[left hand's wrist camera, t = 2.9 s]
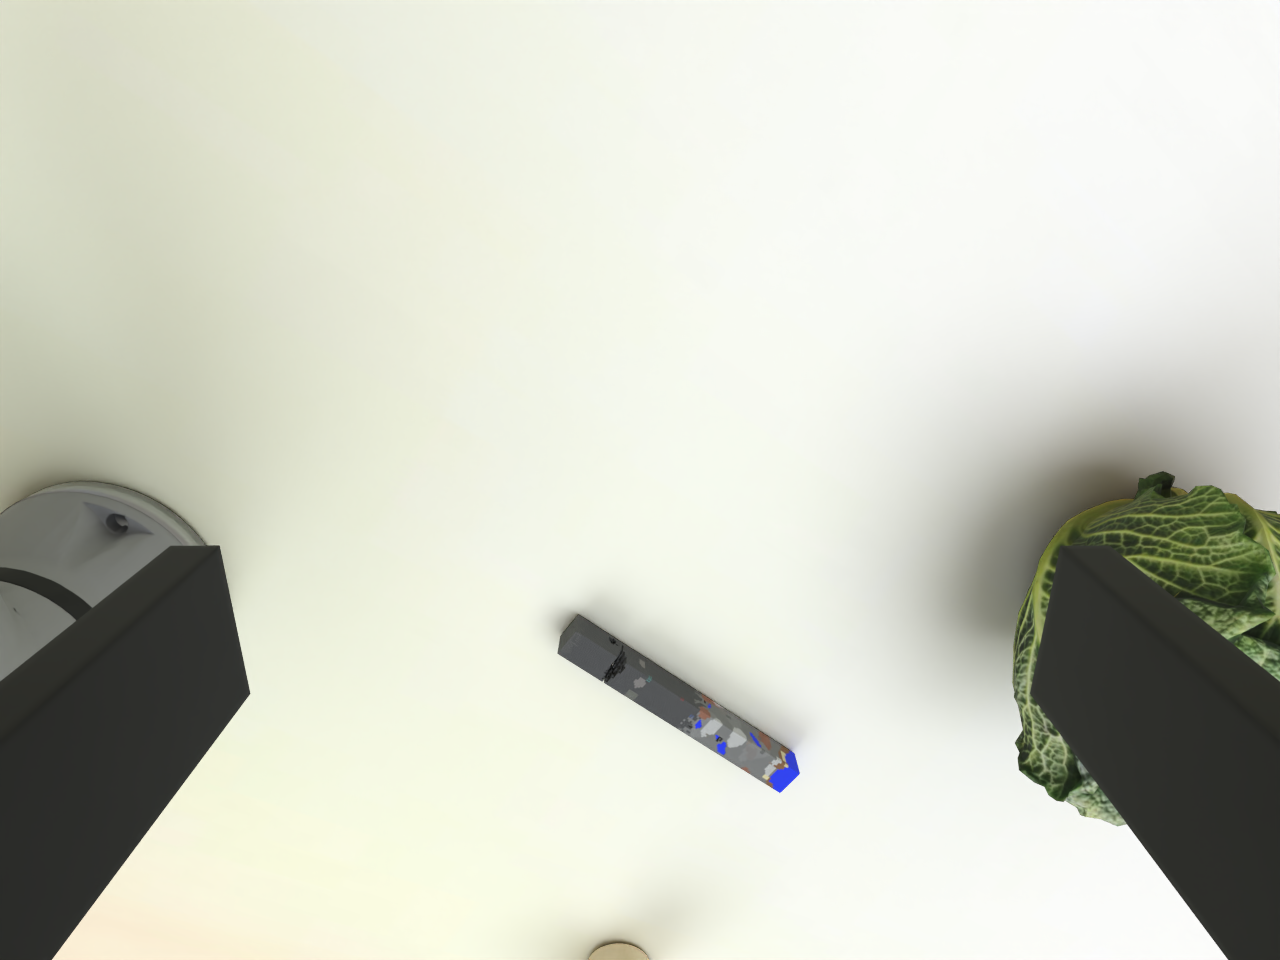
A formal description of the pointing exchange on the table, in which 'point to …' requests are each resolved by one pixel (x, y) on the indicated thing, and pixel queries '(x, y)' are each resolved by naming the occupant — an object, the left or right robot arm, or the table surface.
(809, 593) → the table surface
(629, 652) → the pillar
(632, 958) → the candle
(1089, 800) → the vegetable
